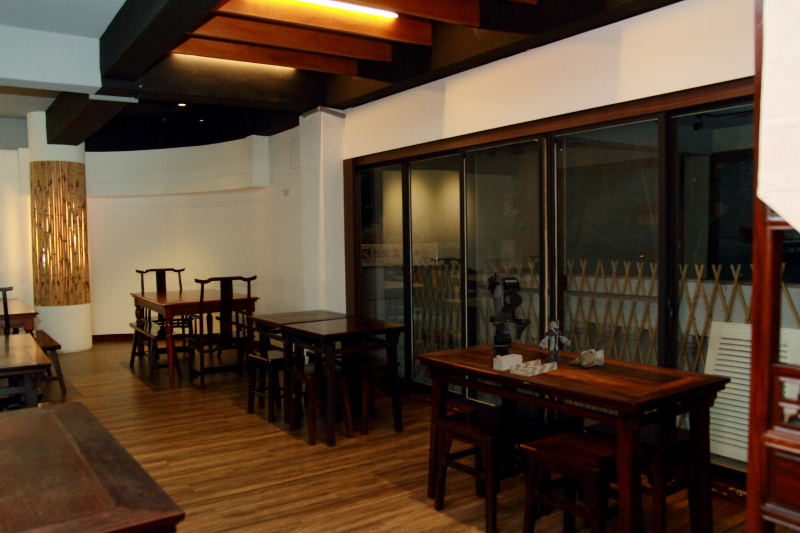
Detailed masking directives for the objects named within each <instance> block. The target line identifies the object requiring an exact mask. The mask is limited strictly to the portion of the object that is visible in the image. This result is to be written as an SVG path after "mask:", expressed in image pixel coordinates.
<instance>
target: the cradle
mask: <svg viewBox="0 0 800 533" xmlns="http://www.w3.org/2000/svg"><path fill="white" fill-rule="evenodd" d="M541 363H542V362H541V359H535V360H530V361H525V362H522V363H521V364H517V365H512V366H510V369H509V373H510V374H513V375H520V376H525V377H532V376H533V377H534V376H536V375H540V374H543V373H549V372H552V371H555V370H557V369H558V365H557V364H558V362H552V363H543V364H541Z"/></svg>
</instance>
